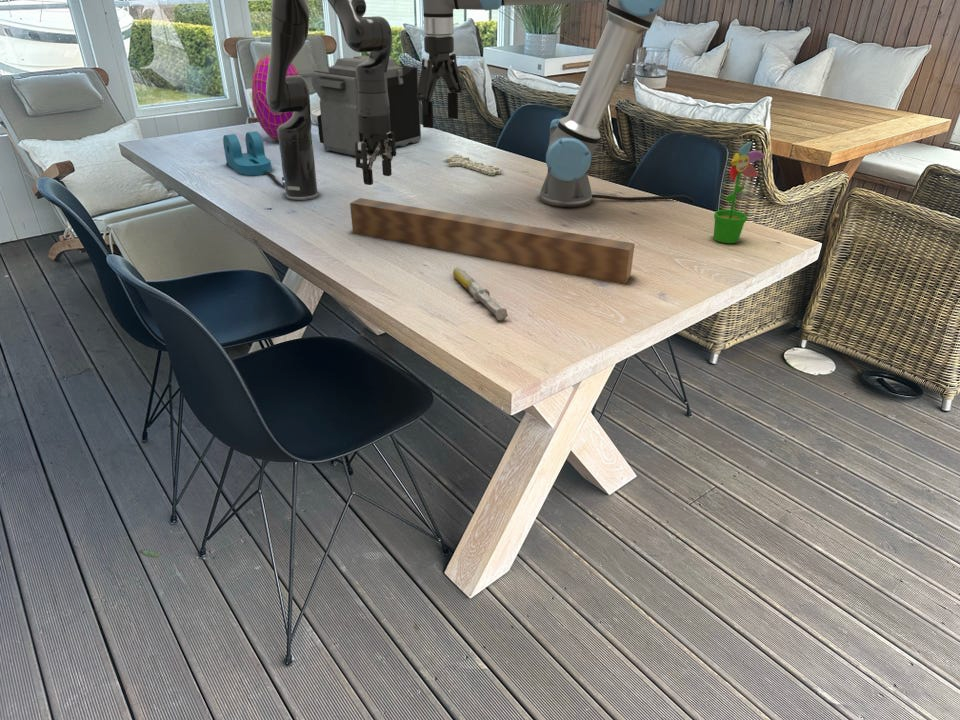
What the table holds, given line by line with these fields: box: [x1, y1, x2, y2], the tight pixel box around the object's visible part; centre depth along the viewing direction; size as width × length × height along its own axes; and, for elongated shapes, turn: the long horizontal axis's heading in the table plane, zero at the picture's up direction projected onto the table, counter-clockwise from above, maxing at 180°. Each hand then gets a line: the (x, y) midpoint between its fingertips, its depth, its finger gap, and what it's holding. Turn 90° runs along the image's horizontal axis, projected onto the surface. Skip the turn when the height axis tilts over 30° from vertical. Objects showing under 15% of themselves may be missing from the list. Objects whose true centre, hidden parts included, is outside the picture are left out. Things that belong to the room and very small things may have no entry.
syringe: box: [452, 266, 509, 321], centre depth 145 cm, size 25×4×3 cm, turn 21°
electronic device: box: [310, 55, 422, 157], centre depth 250 cm, size 37×22×30 cm, turn 144°
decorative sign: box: [445, 154, 501, 176], centre depth 234 cm, size 26×1×10 cm
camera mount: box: [222, 131, 272, 176], centre depth 226 cm, size 18×10×10 cm, turn 35°
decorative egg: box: [251, 54, 301, 141], centre depth 257 cm, size 19×19×30 cm
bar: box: [349, 197, 636, 285], centre depth 164 cm, size 72×5×8 cm, turn 65°
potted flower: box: [713, 141, 766, 244], centre depth 170 cm, size 9×8×25 cm
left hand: (378, 179), depth 169 cm, fingers open, 8 cm apart
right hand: (441, 122), depth 184 cm, fingers open, 13 cm apart
